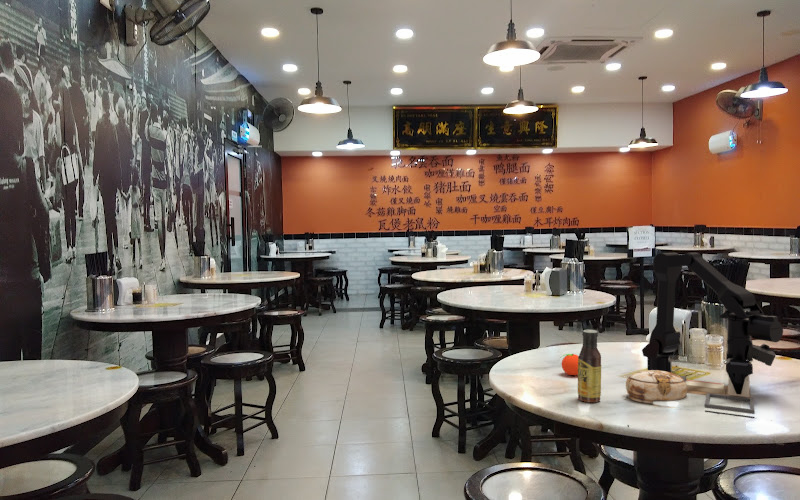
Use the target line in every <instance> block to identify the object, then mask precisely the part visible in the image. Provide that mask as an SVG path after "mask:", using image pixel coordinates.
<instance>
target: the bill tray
mask: <svg viewBox="0 0 800 500" xmlns="http://www.w3.org/2000/svg"><path fill="white" fill-rule="evenodd" d="M711 398H715V399H723V400H732V401H739V402H748V403H749V407H750V408H746V407H739V406H738V407H736V406H728V405H720V404H713V403H710V399H711ZM704 408H707V409H713V410H720V411H721V410H722V411H730V412H735V413H736V412H737V413H746V414H752V415H753V414H755V402H754V398H753V397H751V398H746V397H737V396H729V395H720V394H712V393H707V394H706V395H705V401H704ZM713 410H706V409H705V410H704V412H705V413H712V414H719V415H725V416H726V415H727V416H734V417H741V418H742V417H743V418H748V419H749V418H750V419H755V416H750V415H741V414H737V413H736V414H735V413H734V414H733V413H728V412H720V411H713Z"/></svg>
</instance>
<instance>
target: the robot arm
mask: <svg viewBox="0 0 800 500" xmlns="http://www.w3.org/2000/svg"><path fill="white" fill-rule="evenodd" d="M652 261H653V262H652V264H653V272H654V274H655V276H656V279H657V281H658V285H657V303H656V319H655V320H656V322H655V326H654V328H653V329H652V331H651V332H650V336H649V341H648V343H647V345H645V346H644V347H643V348H642V349H641V352H642V356H643V357H645V358H646V359H647V360H646V361H647V367H646V368H647V370H659V371H666V372H670V373H673V372H672V370H673V369H672V365H673V362H672V360H670V357H673V356H675V353H676V350H678V349H679V346H680V345H681V341H680V340H681V339H680V338H681V332H680V331H676V329H675V327H674V321H675V320H674V319H675V301H676V284H677V283H676V282H677V280H678V278H679V277H680V275H681V274H682V270H683V267H687V268H689V269H690V270H691V271H692V272H693V273H694V274H695V275H696V276H697V277H698V278H699V279H700V280H702V281H703V282H704V283H705V284H706V285H707V286H709V288H710V289H712V290H713V291H714V292H715V294H716V295H717V298H718V301H719V302H720V304H721V305H722V306H723V307H724V309H725V311H724V312H723V313H721V314H720V315H719V318H720V319H726V320H727V322H726V323H727V329H726V330H727V331H726V333H727V335H726V336H727V337H726V339H727V340H726V342H727V343H726V344H727V345H726V354H725V355H726V361H725V372H726V373H727V376H728V377H729V378H730V380H731V382H732V384H733V387H734V389H735V391H736V394H741V392H742V389H743V385H744V381H745V378H746V377H747V376H750V375H753V374H754V372H753V371H754V370H753V369H754V368H753V363H752V362H753V360H755V361H758V362H759V363H763V364H765V365H766V366H768V367H772V364H773V363H774V360H775V359H776V356H777V355H776V353H775V352H774V351H772V350H771V349H770V345H769V344H765V343H762V344H761V345H760V346H759V345H755V344H753V340H752V339H754V340H760V341H765V342H770V343H771V342H772V343H778V342H779V341H780V340H782V337H783V336H784V335H783V333H784V328H783V326H782V324H781V322H780V321H779V317H778V316H777V315H765V313H764V311H763V310H762V308H761V307H760V306H759V304H758V301H756V296H755V295H754V294H753V292H751V291H750V290H747V289H746V288H744V287H743V286H741V285H738V284H736V283H733V282H732V281H730V280H728V278H727V277H725V276H724V275H723V274H722V273H721V272H720V271H718V270H717V269H716V268H715V266H713V265H711V264H710V263H709V262H708V261H707V260H706V259H705V258H704V257H703V256H702V255H701V254H700V253H699V252H686V253H682V254H680V253H677V252H661V253H658V254H656V255H655V256H654V257H653V260H652ZM647 370H646V371H647Z"/></svg>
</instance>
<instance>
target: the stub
mask: <svg viewBox="0 0 800 500" xmlns="http://www.w3.org/2000/svg"><path fill="white" fill-rule="evenodd" d="M727 381H728V382H727V384H728V385H727V386H728V395H735V396H743V397H749V389H750V375H748V376H747V377H746V378H745V381H744V385H743V389H742V392H741V394H736V391H735V389H734V387H733V384H732V382H731V380H730V378H729V376H728V380H727Z"/></svg>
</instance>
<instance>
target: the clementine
mask: <svg viewBox="0 0 800 500" xmlns="http://www.w3.org/2000/svg"><path fill="white" fill-rule="evenodd" d="M562 357H563V359H562V361H561V368H562V370H563V372H564V373H565V374H567V375H569V376H571V375H575V376H578V357H579V355H578V354H576V353H575V354H574V353H567V354H563V355H561V356H560V358H559V359H561V358H562ZM558 361H560V360H558Z"/></svg>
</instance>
